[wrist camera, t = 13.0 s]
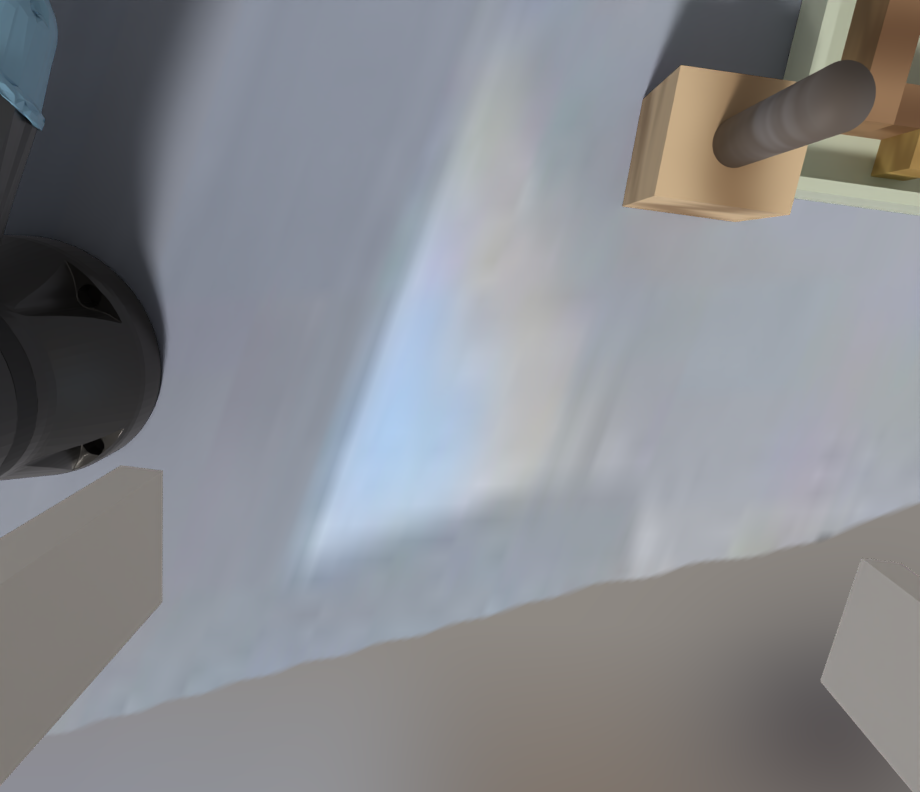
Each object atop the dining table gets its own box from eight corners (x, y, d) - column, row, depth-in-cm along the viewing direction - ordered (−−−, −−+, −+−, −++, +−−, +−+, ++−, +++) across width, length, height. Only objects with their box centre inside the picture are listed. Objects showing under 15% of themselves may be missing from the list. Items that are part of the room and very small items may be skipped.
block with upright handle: (622, 206, 34) (724, 172, 21) (642, 99, 33) (767, -13, 19) (735, 221, 34) (910, 198, 21) (760, 115, 33) (965, 17, 19)
